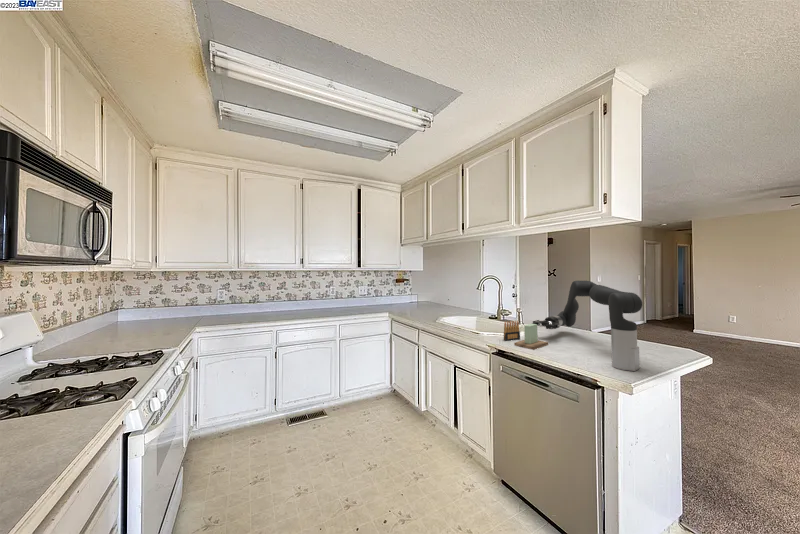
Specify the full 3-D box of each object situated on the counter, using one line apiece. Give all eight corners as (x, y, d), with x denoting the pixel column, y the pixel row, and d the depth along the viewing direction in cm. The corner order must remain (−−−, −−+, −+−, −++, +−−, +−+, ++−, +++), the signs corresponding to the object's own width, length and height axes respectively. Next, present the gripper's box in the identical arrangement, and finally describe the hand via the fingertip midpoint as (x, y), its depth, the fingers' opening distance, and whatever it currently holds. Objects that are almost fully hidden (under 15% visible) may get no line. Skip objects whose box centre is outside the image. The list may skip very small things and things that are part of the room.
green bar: (537, 341, 172) (537, 324, 172) (529, 344, 167) (529, 326, 167) (532, 340, 174) (532, 323, 174) (524, 342, 170) (524, 325, 170)
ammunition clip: (518, 338, 186) (517, 319, 186) (520, 339, 184) (519, 320, 184) (503, 340, 183) (502, 321, 183) (505, 341, 181) (504, 321, 181)
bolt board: (548, 344, 170) (548, 341, 170) (533, 349, 162) (533, 346, 162) (528, 340, 180) (528, 338, 180) (514, 345, 171) (514, 342, 171)
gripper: (542, 314, 191) (528, 318, 182) (565, 317, 180) (551, 321, 170) (542, 326, 191) (528, 330, 182) (565, 330, 180) (551, 334, 170)
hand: (539, 326), depth 176 cm, fingers open, 8 cm apart
